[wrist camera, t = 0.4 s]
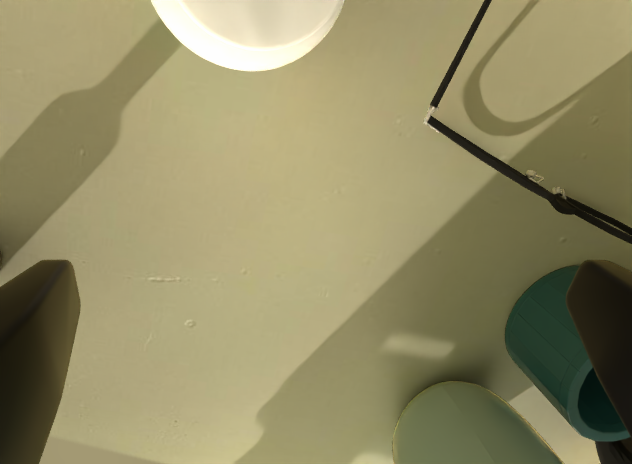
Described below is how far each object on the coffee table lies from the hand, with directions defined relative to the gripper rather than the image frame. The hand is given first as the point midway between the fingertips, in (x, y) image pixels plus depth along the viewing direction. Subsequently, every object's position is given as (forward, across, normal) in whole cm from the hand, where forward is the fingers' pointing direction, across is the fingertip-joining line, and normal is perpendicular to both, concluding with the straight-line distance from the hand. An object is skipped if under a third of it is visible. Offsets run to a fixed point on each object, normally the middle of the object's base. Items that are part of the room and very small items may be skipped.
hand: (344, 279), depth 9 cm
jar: (+12, -17, +13) cm, 25 cm away
